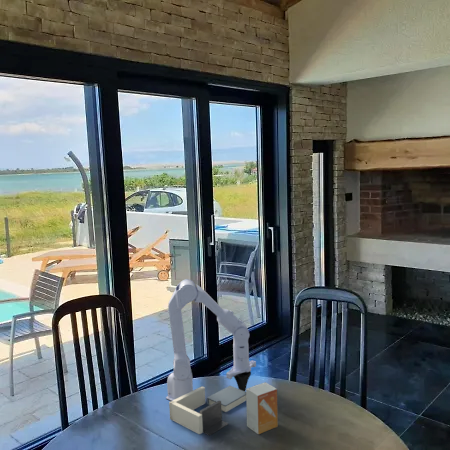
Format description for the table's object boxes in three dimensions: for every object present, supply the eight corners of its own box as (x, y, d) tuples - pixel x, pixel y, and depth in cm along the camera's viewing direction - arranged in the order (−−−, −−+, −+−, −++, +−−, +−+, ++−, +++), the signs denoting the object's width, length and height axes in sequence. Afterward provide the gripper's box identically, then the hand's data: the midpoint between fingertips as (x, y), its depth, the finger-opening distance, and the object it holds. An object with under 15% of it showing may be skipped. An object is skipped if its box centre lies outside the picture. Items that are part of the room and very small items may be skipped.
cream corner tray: (170, 419, 157) (169, 402, 157) (202, 402, 168) (201, 386, 168) (199, 434, 147) (198, 416, 147) (232, 415, 158) (231, 398, 158)
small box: (258, 435, 146) (257, 395, 144) (246, 426, 151) (245, 388, 150) (278, 426, 150) (277, 388, 149) (266, 418, 155) (265, 381, 154)
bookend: (200, 431, 149) (199, 410, 148) (219, 420, 155) (218, 400, 155) (209, 435, 146) (208, 414, 146) (228, 424, 153) (227, 404, 152)
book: (207, 405, 167) (207, 397, 166) (230, 393, 175) (229, 385, 175) (225, 413, 160) (225, 405, 160) (248, 400, 169) (248, 392, 169)
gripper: (236, 364, 164) (237, 401, 165) (261, 352, 174) (262, 386, 176) (221, 359, 169) (223, 395, 170) (247, 347, 179) (248, 381, 181)
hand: (242, 390), depth 173 cm, fingers closed
